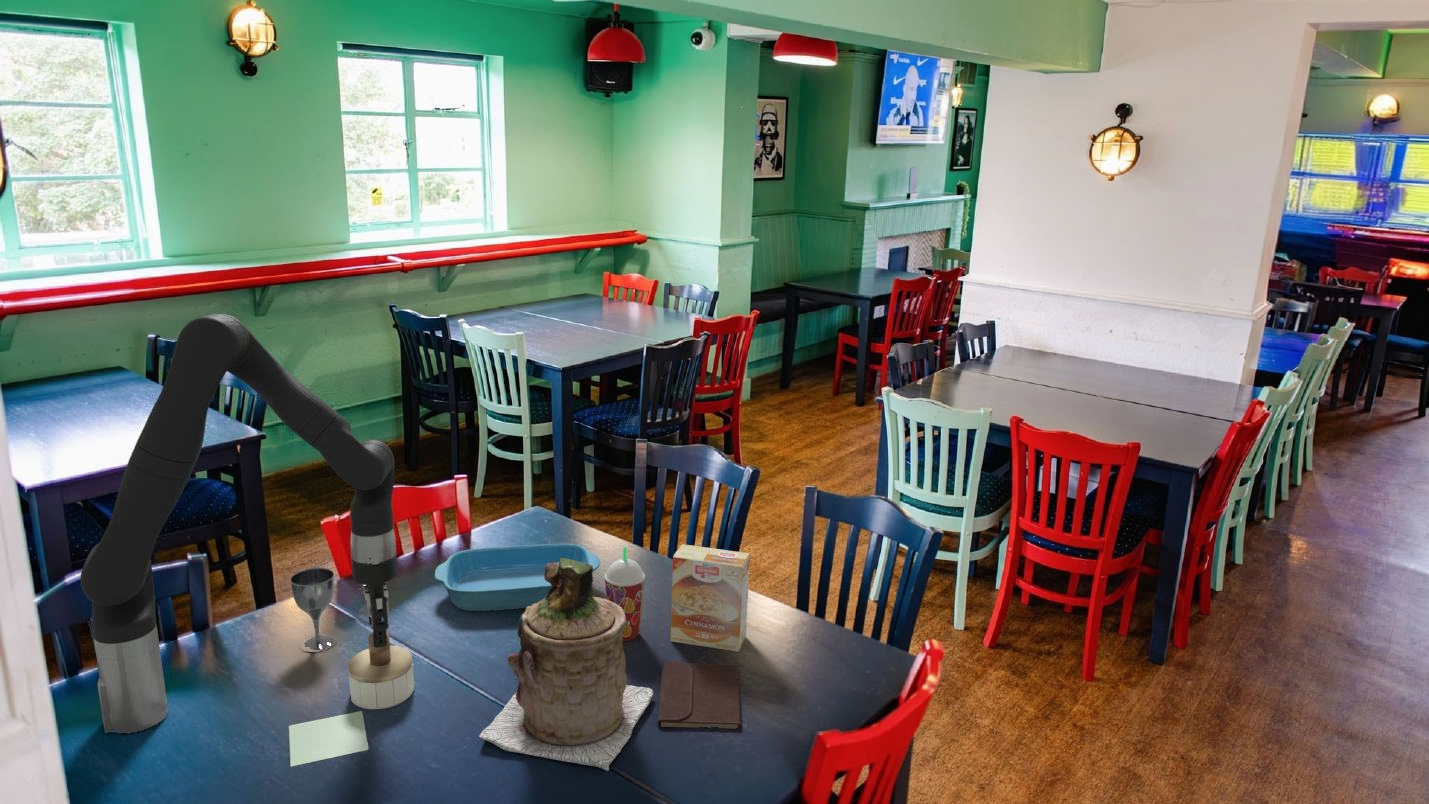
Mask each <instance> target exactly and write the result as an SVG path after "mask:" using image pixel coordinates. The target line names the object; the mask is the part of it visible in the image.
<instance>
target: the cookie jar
mask: <svg viewBox="0 0 1429 804" xmlns="http://www.w3.org/2000/svg"><path fill="white" fill-rule="evenodd" d="M593 574H594V571H593V566H592V565H590V564H588V563H582V562H578V561H574V560H569V559H566V558H561V559H560V560H559V562H558V563H549V564H547V565H546V567H545V575H544V579H545V580H546V581H547V582H549V583H550V584H551V585H552V588H551V589H550V590H549V591H548V593H547V598H544V599H543V600H541V601H539V602H538V603H534V604H533V605H532V606H528V607H527V608H524V609H525V610H524V612H523V613H522V614H520V617H519V620H518V626H517V636H518V637H519V639H520V644H519V645H520V650H519V652H517V653H511V654H509V655H508V656H507V664H508V666H509V668H510V669H511V670H512V671H513V673H514V675H515V677H516V678H517V680H518V685H517V687H516V688H517V689H516V692H515V693H514V694H513V695H512V696H511V698H510V700H508V702H507V704H505V706H504V708H502V710H501V712H499V713H498V714H497V715H496V716H495V718H494V719H493V720H492V722H490V724H489V725H487V727H485V728H483V730H482V732H481V733H480V734H479V738H480V739H483V740H485V741H487V742H489V743H492V744H493V745H494V746H497V747H499V748H500V749H502V750H504V751H506V752H511V753H512V752H513V753H519V754H524V755H529V756H534V757H539V758H540V757H541V758H545V759H551V760H556V761H561V762H567V763H574V764H577V765H585V766H591V767H596V768H599V769H602V770H604V771H607V772H608V771H609V770H610V765H611V763H612V762H613V761H614V760H615V758H616V757H617V756H618V755H619V753H620V752H621V751H622V748H624V746H625V745H626V743H628V741H629V739H630V738H631V736H632V733H633V729H634V727H635V725H636V724H637V723H638V721H639V720H640V718H641V717H642V715H643V714H644V712H645V710H646V708H648V707H649V705H650V703H651V702H652V697H653V695H654V690H653V689H652V688H650V687H645V686H644V687H643V686H635V685H630V684H629V685H627V681H628V679H627V674H626V670H625V669H626V655H625V651H624V647H623V641H622V631H623V630H624V628H625V627H626V617H625V613H624V610H623V609H622V607H620V606H619V605H617V604H616V603H613V602H611V601H609V600H607V599H606V598H602V597H598V596H593V595H592V592H593V582H594V579H593V578H594V577H593Z"/></svg>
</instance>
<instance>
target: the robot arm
mask: <svg viewBox="0 0 1429 804" xmlns="http://www.w3.org/2000/svg"><path fill="white" fill-rule="evenodd" d="M172 354H173V355H172V357H171V362H170V364H169V368H168V371H167V373H166V378H165V381H164V382H163V383H164V384H163V385H162V388H161V391H160V394H159V395H158V398H157V399H156V401H155V403H154V405H153V407H152V409H151V411H150V413H149V415H148V417H147V420H146V421H145V424H144V426H143V428H142V430H141V432H140V434H139V436H138V438H137V441H136V442H135V445H134V448H133V450H132V452H131V454H130V457H129V459H128V462H127V465H126V467H125V471H124V473H123V477H122V479H121V483H120V486H119V488H118V492H117V497H116V499H115V500H116V501H115V504H114V508H113V512H112V514H111V518H110V520H109V522H108V525H107V527H106V528H105V531H104V533H103V535H102V537H101V539H100V541H99V542H98V543H97V544H96V545H95V546H94V547H93V548H92V549H91V550H90V552H89V553H88V556H87V558H86V560H85V563H84V564H83V566H82V570H81V572H80V587H81V589H82V591H83V593H84V595H85V596H86V598H87V599H88V600H89V601H90V602H91V604H92V609H91V610H92V614H91V631H92V638H93V645H94V649H95V656H96V662H97V663H96V664H97V668H98V675H99V676H98V677H99V678H98V682H97V691H98V696H99V703H100V709H101V716H102V723H103V728H104V733H105V732H108V731H116V732H118V733H117V734H121V733H123V732H124V733H126V734H132V733H131V732H134V733H139V732H142V730H143V731H145V730H144V729H146V730H148V729H151V728H152V726H153V727H155V726H156V725H158V724H159V722H160V723H161V722H163V720H165V718H166V717H167V715H168V713H169V709H168V698H167V693H166V685H165V676H164V671H163V669H164V668H163V664H162V663H163V661H162V656H161V648H160V641H159V633H158V627H157V618H156V594H155V583H154V574H153V567H152V560H151V556H152V554H153V550H154V548H155V544H156V542H157V541H158V537H159V535H160V533H161V532H162V529H163V527H164V525H165V523H166V522H167V520H168V518H169V517H170V515H171V513H172V511H173V510H174V509H175V506H176V505H177V503H178V501H179V499H180V497H181V495H182V493H183V491H184V489H185V487H186V485H187V483H188V481H189V480H190V478H191V475H192V473H193V471H194V469H195V466H196V463H197V461H198V459H199V457H200V454H201V450H202V448H203V443H204V440H205V439H204V438H205V433H206V422H207V415H208V411H209V407H210V404H211V402H212V399H213V398H214V395H215V393H216V392H217V389H218V387H219V386H220V384H221V381H222V380H223V378H225V375H226V373H229V374H231V375H233V376H234V377H236V378H237V379H239V380H241V381H242V382H244V384H245V385H248V386H249V387H250V388H251V389H252V390H254V392H255V393H257V394H258V396H260V397H261V398H262V400H264V402H266V403H265V404H266V405H268V406H269V408H270V409H271V411H273V412H274V414H275V415H276V417H278V418H279V420H281V422H282V423H283V424H284V425H285V426H286V427H288V429H290V431H292V432H293V433H294V434H296V435H297V436H298V437H299V438H301V439H302V440H303V441H304V442H306V443H307V444H308V445H309V446H311V447H312V448H314V450H316V451H317V452H319V453H320V455H321V456H322V457H323V459H324V461H325V462H326V463H327V464H328V465H329V466H330V467H331V469H332V470H333V471H334V472H335V473H336V474H337V476H338V477H339V478H340V479H342V481H344V483H346V484H348V485H349V486H351V487H352V488H354V495H353V498H352V501H351V504H350V509H349V512H350V517H349V518H350V556H351V558H350V559H351V574H352V579H353V581H354V582H356V584H359V585H362V589H363V594H364V601H365V602H366V610H367V616H368V624H369V626H370V628H371V630H372V633H373V643H374V647H375V648H379V647H385V646H386V645H387V633H388V632H387V630H388V629H389V626H390V624H389V623H388V621H389V619H388V617H389V616H388V614H389V602H388V601H389V600H388V598H389V588H388V587H387V586H388V584H387V583H388V582H391V581H392V580H394V578H396V576H397V574H398V565H397V546H396V543H397V541H396V535H395V530H394V528H395V527H394V511H393V492H394V483H395V469H396V467H395V466H396V465H395V457H394V454H393V451H392V449H391V448H390V447H389V446H388V444H386V443H385V442H383V441H381V440H377V439H370V440H366V441H364V442H360V441H359V440H358V439H357V437H355V436H354V434H352V432H351V430H352V428H351V423H350V422H349V421H348V420H347V419H346V418H345V417H344V416H343V415H341V414H340V413H339V412H338V411H336V410H335V409H334V408H333V407H332V406H330V405H329V404H328V403H327V402H326V401H324V400H323V399H322V398H320V397H319V396H318V395H317V394H316V393H314V392H313V391H311V390H310V389H309V388H308V387H307V386H306V385H304V384H303V383H302V382H301V381H300V380H298V379H297V378H296V377H295V376H294V375H293V374H292V373H291V372H290V371H288V370H287V369H286V368H285V367H284V366H283V365H282V364H281V362H278V360H276V358H275V357H274V356H273V355H272V354H271V353H270V352H269V351H268V349H266V348H265V347H264V346H263V345H262V343H260V341H259V340H258V339H257V338H256V337H255V335H254V334H253V333H252V332H251V331H250V330H249V329H248V328H247V327H246V325H244V324H243V323H242V321H240V320H239V319H238V318H237V317H234V316H233V315H230V314H226V313H212V314H210V313H209V314H207V315H201V316H198V317H195V318H194V319H192V320H190V321H189V322H187V324H185V325H184V326H183V328H182V329H181V331H180V333H179V334H178V338H177V339H176V343H175V347H174V349H173V353H172ZM386 632H387V633H386ZM154 725H155V726H154ZM150 727H151V728H150ZM147 728H148V729H147ZM138 731H139V732H138Z"/></svg>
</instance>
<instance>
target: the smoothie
mask: <svg viewBox="0 0 1429 804" xmlns="http://www.w3.org/2000/svg"><path fill="white" fill-rule="evenodd" d="M622 548H623V549H622V553H623V554H622V555H623V558H620V559H619V558H618V559H617V560H615V561H613V562H612V563H611V564H610V566H609V567H608V569H607V571H606V572H605V573H604V587H605V590H604V591H605V599H607V600H609V601H611V602H613V603H616V604H617V605H619V606H620V607H622V609H623V610H624V613H625V617H626V627H625V628H624V630H623V631H622V642H628V641H632V640H634V639H636V638H637V637H638V634H639V633H640V631H641V623H642V612H643V611H642V610H643V599H644V589H645V587H644V585H645V578H646V575H645V573H644V572H643V570H642V567H641V566H640V565H639V564H638V562H636V561H635V560H633V559H631V558H627V547H626V546H624V547H622Z"/></svg>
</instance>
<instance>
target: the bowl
mask: <svg viewBox="0 0 1429 804" xmlns="http://www.w3.org/2000/svg"><path fill="white" fill-rule="evenodd" d="M348 671H349V668H348ZM414 677H415V676H414V663H413V662H412V666H411V668H410V669H409V671H408V672H406V673H405V674H404V675H402V676H400V677H398V678H396V679H393V680H390V681H386V682H381V683H364V682H360V681H357V680H355V679H353V678H352V677H351V676H350V674H349V673H348V679H349V681H348V682H349V692H350V693H349V694H350V699H351V702H352V703H353V704H354V705H355V706H357V707H359V708H362V709H365V710H380V709H381V710H382V709H383V710H384V709H387V708H391V707H394V706H397V705H399V704H401V703H403V702H405V701H406V700H407V699H409V698H410V697H411V696H412V694H413V692H414V690H415V678H414Z"/></svg>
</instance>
